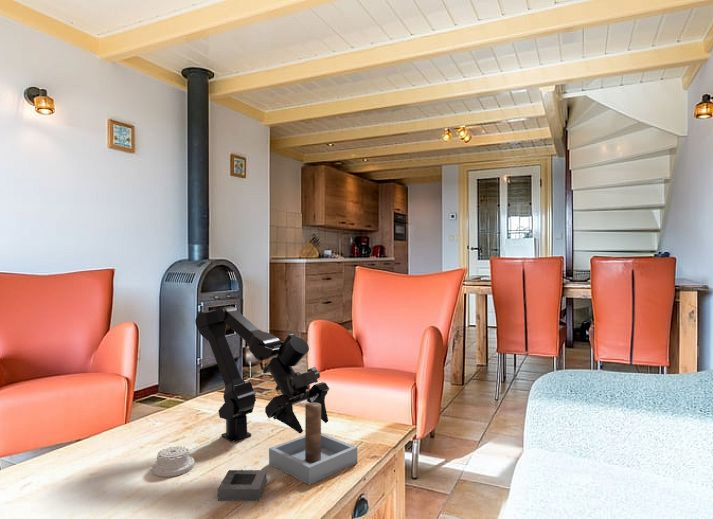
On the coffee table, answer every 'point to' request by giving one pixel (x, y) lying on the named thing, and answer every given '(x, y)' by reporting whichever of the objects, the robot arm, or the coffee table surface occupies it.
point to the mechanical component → (173, 462)
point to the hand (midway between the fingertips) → (314, 427)
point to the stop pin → (313, 432)
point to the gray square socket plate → (242, 485)
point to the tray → (332, 461)
